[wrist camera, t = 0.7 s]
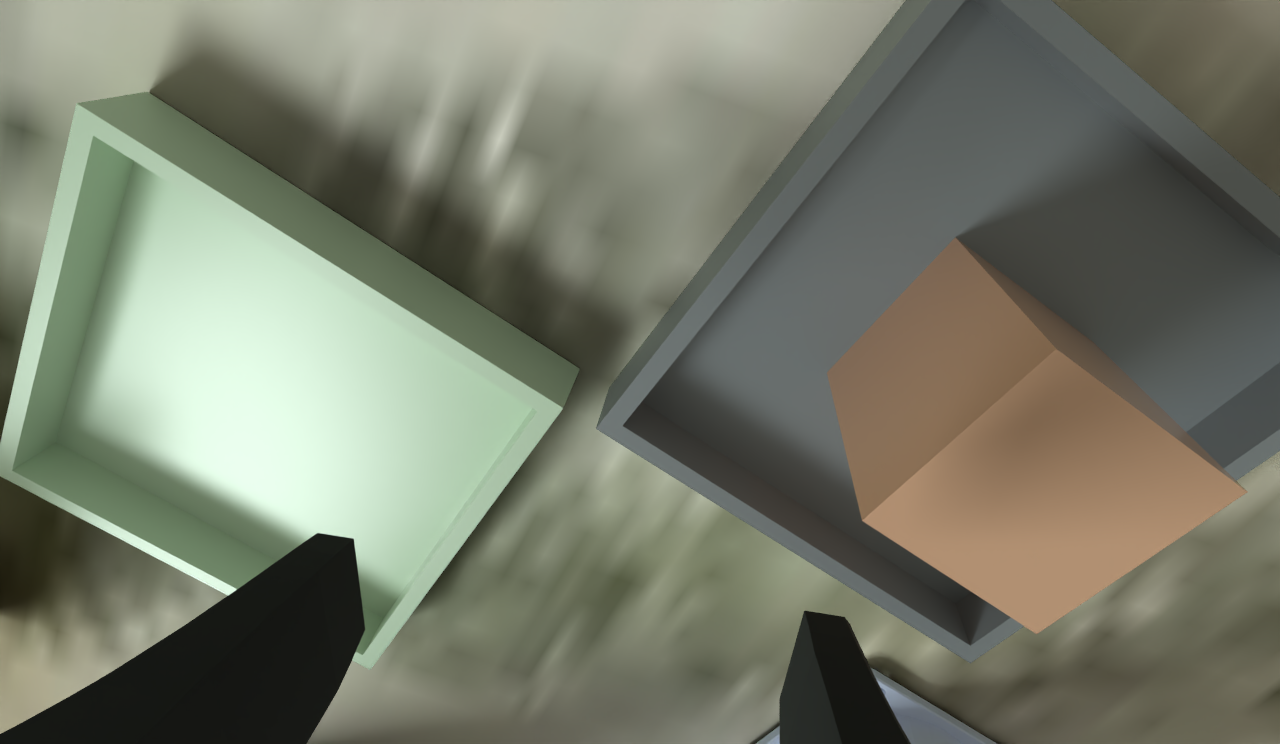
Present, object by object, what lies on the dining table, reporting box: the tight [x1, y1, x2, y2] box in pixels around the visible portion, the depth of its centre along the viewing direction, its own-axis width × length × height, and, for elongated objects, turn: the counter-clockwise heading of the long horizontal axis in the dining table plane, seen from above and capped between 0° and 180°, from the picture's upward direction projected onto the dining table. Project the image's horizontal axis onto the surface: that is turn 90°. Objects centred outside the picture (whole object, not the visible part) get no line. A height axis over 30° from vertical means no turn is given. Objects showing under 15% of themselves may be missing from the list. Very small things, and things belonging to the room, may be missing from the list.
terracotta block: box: [827, 237, 1247, 634], centre depth 15 cm, size 4×4×6 cm
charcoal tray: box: [596, 0, 1280, 663], centre depth 18 cm, size 13×13×2 cm
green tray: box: [0, 92, 580, 670], centre depth 21 cm, size 13×13×2 cm
